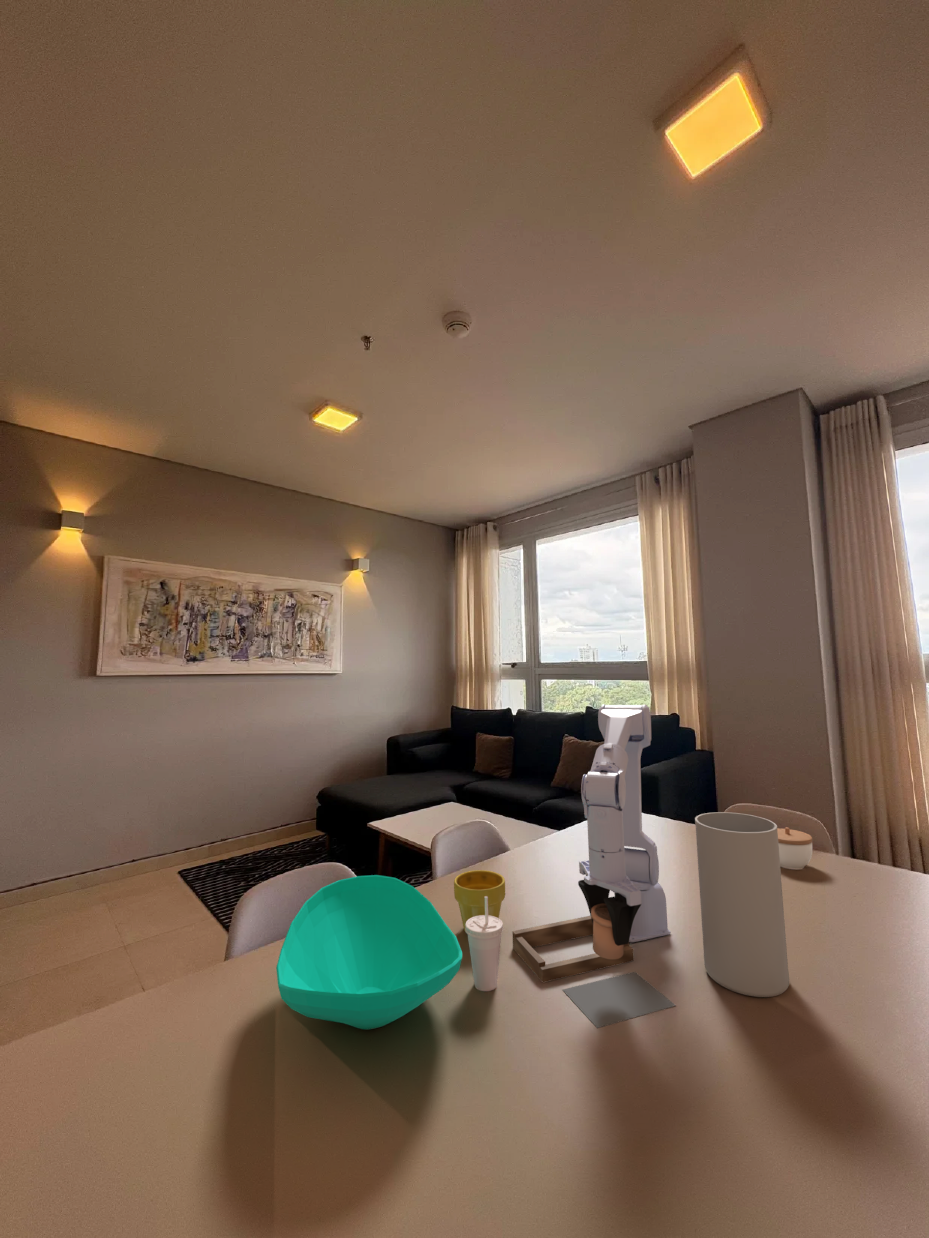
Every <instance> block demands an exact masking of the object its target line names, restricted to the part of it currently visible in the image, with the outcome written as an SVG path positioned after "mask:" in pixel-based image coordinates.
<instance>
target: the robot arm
mask: <svg viewBox="0 0 929 1238" xmlns="http://www.w3.org/2000/svg"><path fill="white" fill-rule="evenodd" d="M597 713H598V714H597V717H598V718H597V721H598V722H597V723H598V728H599V731H600V732H601V735H602V738H603V740H604V743H603V744H600V745H599V746H598V747H597V748H596V750H595V754H594V757H593V760H592V761H593V762H592V765H591V768H590V770H589V771H588V772H587V774H586V773H584V774H583V775H582V779H581V787H580V791H581V801H582V806H583V810H584V811H583V812H584V813H583V814H584V818H585V819H586V821H587V823H586V824H587V843H588V844H587V845H588V859H587V860H582V861H581V860H580V861H578V868H579V869H578V870H579V874H581V875H582V876H583V879H580V880H578V883H577V885H578V886H579V889H580V891H581V892H582V895H583V896H584V900H585V902H586V905H587V907H588V912H589V914H590V915H589V916H591V909H592V907H593V906H595V905H597V904H606V906H607V909H608V912H609V915H610V918H611V923H612V931H613V938H614V942H615V944H616V945H617V946H620V945H625V944H628V943H629V944H630V943H635V942H640V941H645V940H649V939H650V940H651V939H655V938H659V937H662V936H668V935H671V930H670V929H669V927H668V924H669V923H668V912H667V909H668V908H667V897H666V893H665V891H664V889H663V887H662V885H661V884H660V883H659V877H660V864H659V855H658V847H657V844H656V842H655V841H654V840H653V839H652V838H650V837H649V836H648V835H647V834H645V832H644V831H643V815H642V814H643V813H642V773H641V765H642V764H641V758H642V757H641V756H642V754H643V753H642V752H643V749H645V748H647V747H649V746H651V741H652V716H651V710H650V707H649V706H648V705H647V704H605V703H604V704H601V706H600V707H599V709H598V712H597ZM627 847H629V848H627ZM637 848H639V849H637ZM610 892H613V894H614V896H611V897H610ZM591 919H592V917H591ZM593 921H594V920H593V919H592V923H593Z"/></svg>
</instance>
